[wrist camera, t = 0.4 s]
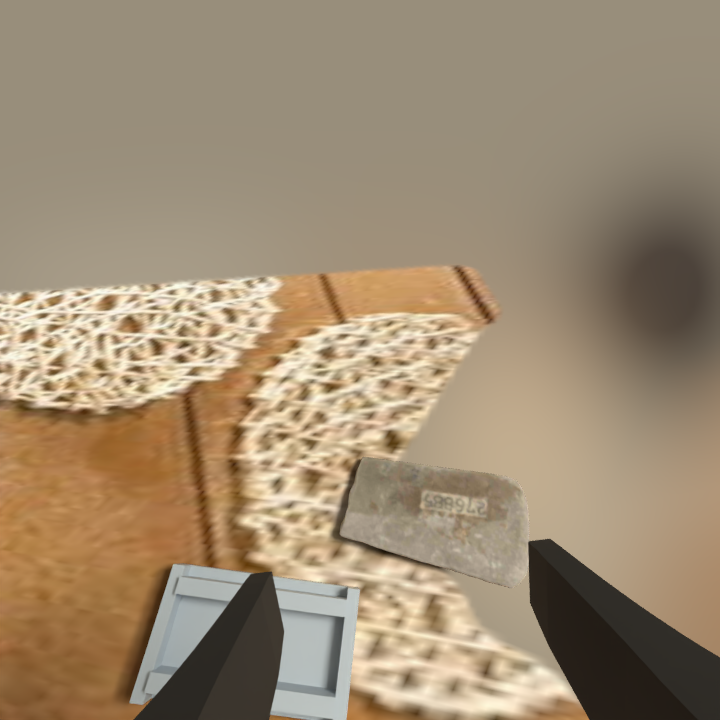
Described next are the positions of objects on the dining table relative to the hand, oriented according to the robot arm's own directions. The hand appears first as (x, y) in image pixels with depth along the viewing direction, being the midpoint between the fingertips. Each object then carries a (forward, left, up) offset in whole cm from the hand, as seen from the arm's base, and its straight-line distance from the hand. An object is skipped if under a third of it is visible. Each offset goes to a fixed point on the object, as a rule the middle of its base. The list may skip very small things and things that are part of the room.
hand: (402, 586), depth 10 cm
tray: (-6, +7, -27) cm, 29 cm away
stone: (+5, -8, -28) cm, 30 cm away
